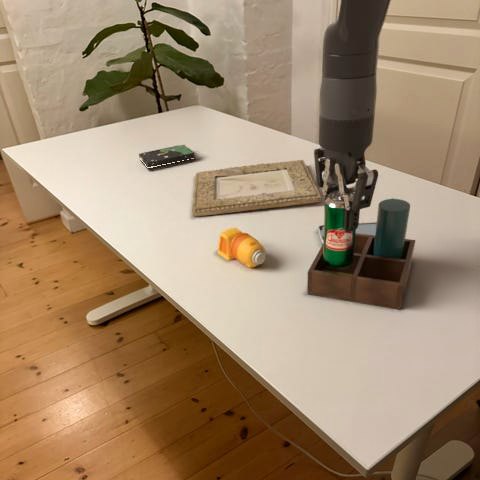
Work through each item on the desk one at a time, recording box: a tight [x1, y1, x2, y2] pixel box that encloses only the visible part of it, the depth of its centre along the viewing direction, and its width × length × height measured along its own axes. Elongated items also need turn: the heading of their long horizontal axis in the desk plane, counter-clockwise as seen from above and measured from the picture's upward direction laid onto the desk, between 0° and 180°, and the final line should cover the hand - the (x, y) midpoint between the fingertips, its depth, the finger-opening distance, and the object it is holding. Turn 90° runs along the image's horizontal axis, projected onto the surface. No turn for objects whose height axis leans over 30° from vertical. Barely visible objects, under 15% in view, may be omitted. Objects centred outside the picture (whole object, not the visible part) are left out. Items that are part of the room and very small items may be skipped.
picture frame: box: [191, 159, 322, 218], centre depth 117 cm, size 27×30×3 cm
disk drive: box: [138, 144, 196, 171], centre depth 140 cm, size 10×3×15 cm
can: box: [373, 198, 411, 259], centre depth 80 cm, size 5×5×12 cm
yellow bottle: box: [217, 227, 266, 268], centre depth 89 cm, size 5×6×12 cm
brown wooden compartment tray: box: [306, 233, 416, 310], centre depth 81 cm, size 15×15×5 cm
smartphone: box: [317, 221, 377, 244], centre depth 94 cm, size 7×1×15 cm
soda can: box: [322, 190, 356, 269], centre depth 75 cm, size 5×5×12 cm
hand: (340, 222), depth 74 cm, fingers closed on soda can, 5 cm apart
